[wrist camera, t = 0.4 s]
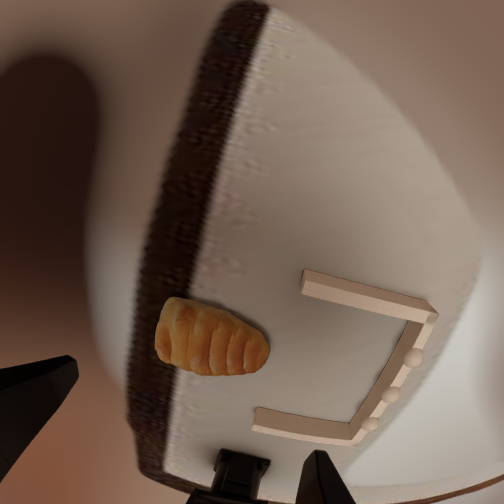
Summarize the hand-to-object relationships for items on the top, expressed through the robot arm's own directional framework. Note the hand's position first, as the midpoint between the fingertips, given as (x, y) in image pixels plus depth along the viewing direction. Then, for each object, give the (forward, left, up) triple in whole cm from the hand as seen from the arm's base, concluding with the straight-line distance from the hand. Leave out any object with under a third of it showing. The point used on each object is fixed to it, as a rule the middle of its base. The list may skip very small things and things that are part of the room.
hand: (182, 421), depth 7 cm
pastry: (-6, +3, -14) cm, 16 cm away
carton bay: (-6, -9, -14) cm, 17 cm away
